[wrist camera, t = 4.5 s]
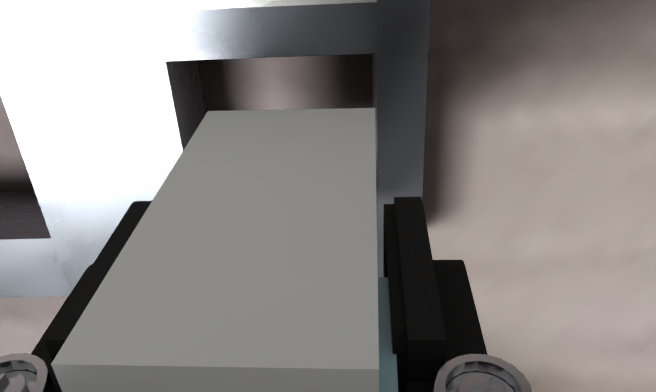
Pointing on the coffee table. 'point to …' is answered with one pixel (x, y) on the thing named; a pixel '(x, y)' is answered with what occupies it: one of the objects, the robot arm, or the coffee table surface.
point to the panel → (168, 107)
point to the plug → (248, 268)
